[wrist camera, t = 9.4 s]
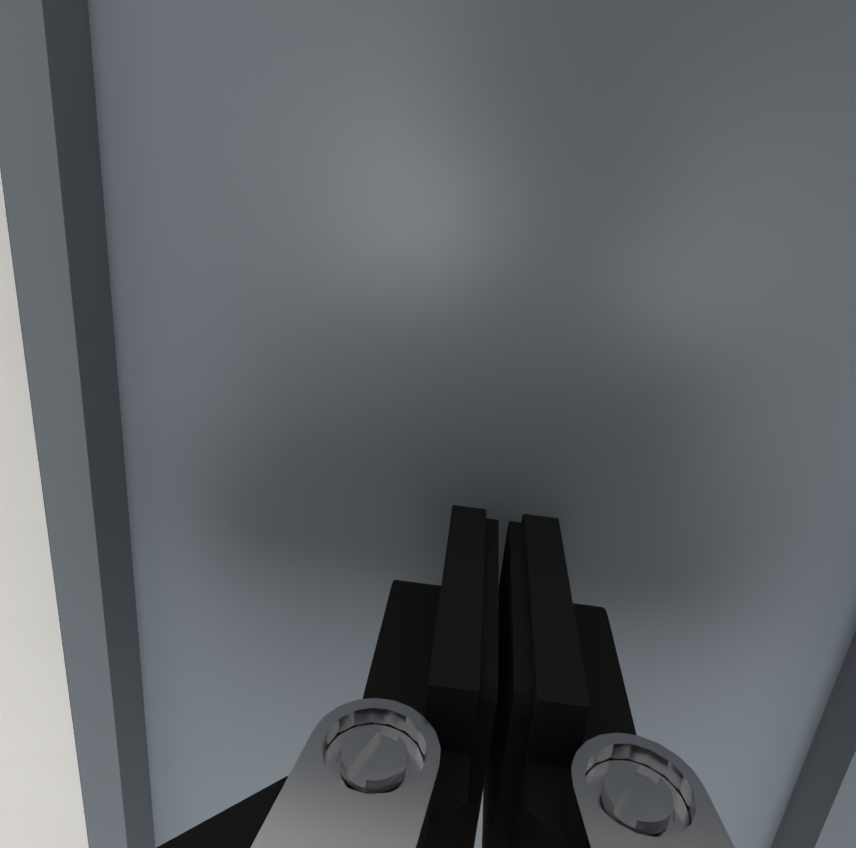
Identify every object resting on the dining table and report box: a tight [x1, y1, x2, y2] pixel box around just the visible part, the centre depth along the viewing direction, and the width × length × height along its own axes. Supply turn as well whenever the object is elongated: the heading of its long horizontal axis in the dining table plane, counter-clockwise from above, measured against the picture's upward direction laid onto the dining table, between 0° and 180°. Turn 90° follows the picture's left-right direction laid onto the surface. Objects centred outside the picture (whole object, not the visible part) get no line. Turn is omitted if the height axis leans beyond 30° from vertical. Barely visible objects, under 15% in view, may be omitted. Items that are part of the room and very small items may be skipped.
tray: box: [0, 0, 856, 848], centre depth 14 cm, size 26×14×4 cm, turn 175°
